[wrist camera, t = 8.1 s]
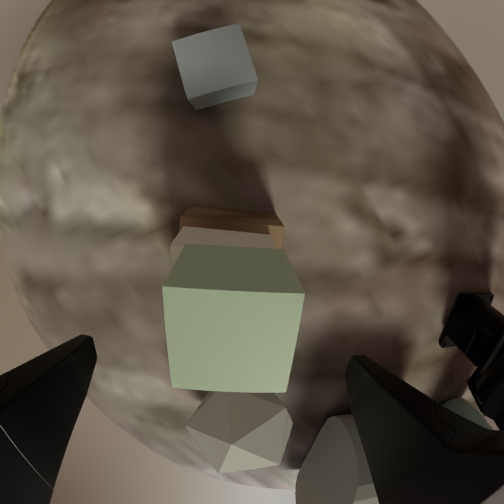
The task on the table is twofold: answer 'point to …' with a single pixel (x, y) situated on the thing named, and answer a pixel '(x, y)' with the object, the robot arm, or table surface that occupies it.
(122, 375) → the table surface
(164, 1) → the table surface
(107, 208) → the table surface
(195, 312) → the sage cube
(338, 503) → the alarm clock
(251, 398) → the die
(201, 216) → the tower base
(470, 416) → the cup
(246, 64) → the slate cube
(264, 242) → the tower top
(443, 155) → the table surface
